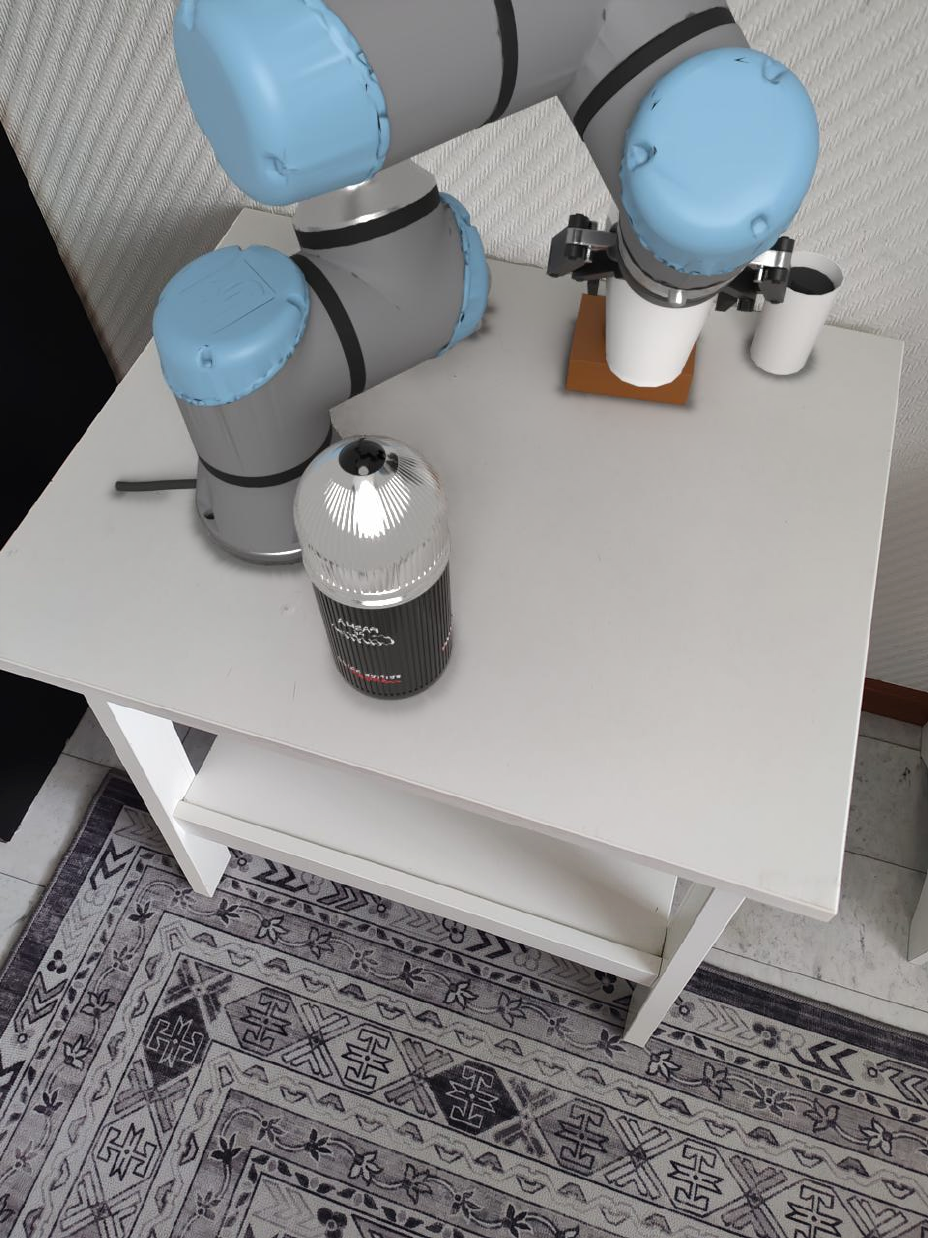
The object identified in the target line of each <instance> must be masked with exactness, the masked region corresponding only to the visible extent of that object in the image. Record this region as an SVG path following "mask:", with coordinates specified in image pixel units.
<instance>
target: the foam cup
mask: <svg viewBox="0 0 928 1238" xmlns="http://www.w3.org/2000/svg"><path fill="white" fill-rule="evenodd" d="M618 216H619V210H618V208H617V206H616V204H615V202H614V200H613V198H611V201H610V205H609V208H608V211H607V215H606V221H605V227H604V228H605V229H604V231H609V230H610V228H611V226H612V225H613V224H614V223H616V222H618ZM605 296H606V354H607V356H606V360H607V362H608V365H609V368H610V370H611V371H612V372H613V373H614V374H615V375H616V376H617V377H618V378H620V379H621V380H622V381H625V382H627V383H630V384H633V385H635V386H638V387H658V386H661V385H664V384H667V383H670V382H672V381H673V380H674V379H675V378H676V377H677V376H678V375H679V374H680V373H681V372H682V369H683V368H684V366H685V364H686V362H687V360H688V357H689V355H690V353H691V351H692V348H693V346H694V344H695V342H696V343H697V341H696V340H697V339H698V338H699V335H700V333H701V330H702V329H703V326H704V324H705V321H706V320H707V317H708V315H709V313H710V311H711V310H712V309H711V308H712V306H713V304H714V302H715V300H716V298H717V295H716V296H714V297H713V298H711V299H709V300H708V301H706V302H703V303H701V304H699V305H696V306H692V307H687V308H666V307H661V306H657V305H655V304H652V303H650V302H648V301H646V300H645V299H643V298H642V297H640V296H639V295H638V294H637V293H635V292H634V291H633V290H632V288H631V287H630V286H629V285H628V283H627V282H626V280H621V279H616V278H615V277H609V278H605Z"/></svg>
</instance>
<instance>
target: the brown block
mask: <svg viewBox="0 0 928 1238" xmlns="http://www.w3.org/2000/svg"><path fill="white" fill-rule="evenodd" d="M572 339H573V340H572V344H571V350H570V354H569V359H568V369H567V377H566V378H567V379H566V386H565V390H566V391H574V392H580V393H587V394H594V395H595V394H596V395H603V396H609V397H618V398H625V399H632V400H639V401H640V400H641V401H648V402H656V403H663V404H672V405H679V406H686V403H687V401H688V400H687V399H688V397H689V393H690V389H691V385H692V382H693V380H694V379H693V378H694V373H695V363H696V362H695V361H696V352H697V351H696V350H697V340H696V342H695V344H694V346H693V348H692V351H691V353H690V355H689V357H688V360H687V362H686V364H685V366H684V368H683V369H682V372H681V373H680V374H679V375H678V376H677V377H676V378H675V379H674V380H673V381H672V382H670V383H667V384H664V385H661V386H658V387H638V386H635V385H633V384H630V383H627V382H625V381H622V380H621V379H620V378H618V377H617V376H616V375H615V374H614V373H613V372H612V371H611V370H610V368H609V365H608V362H607V360H606V356H607V354H606V295H602V294H597V296H593V295H588V293H584V292H582V293H581V298H580V303H579V308H578V312H577V320H576V323H575V327H574V334H573V338H572Z"/></svg>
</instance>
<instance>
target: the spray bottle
mask: <svg viewBox="0 0 928 1238" xmlns="http://www.w3.org/2000/svg"><path fill="white" fill-rule="evenodd" d="M342 439H343V440H340V441H338V442H336V443H334V444H332V445H331V446H329V447H327V448H326V449H325V450H323V451H322V452H321V453H320V454H319V455H317V456H316V457H315V458H314V460H313V461H312V462H311V463H310V464H309V466H308V467H307V468H306V470H305V471H304V473H303V475H302V477H301V479H300V481H299V483H298V486H297V489H296V493H295V496H294V502H293V519H294V525H295V528H296V532H297V535H298V539H299V542H300V546H301V552H302V559H303V561H302V564H303V566H304V569H305V572H306V574H307V576H308V577H309V579H310V582H311V585H312V588H313V593H314V595H315V600H316V603H317V607H318V610H319V613H320V616H321V620H322V624H323V628H324V630H325V634H326V638H327V642H328V645H329V647H330V651H331V655H332V658H333V662H334V666H335V668H336V669H337V671H338V673H339V675H340V677H341V678H342V679H343V680H344V681H345V682H346V684H347V685H348V686H349V687H351V688H352V689H353V690H354V691H355V692H357V693H359V694H362V695H363V696H366V697H368V698H371V699H375V700H379V701H388V702H389V701H402V700H405V699H410V698H413V697H415V696H419V695H420V694H422V693H424V692H426V691H427V690H429V689H430V688H432V687H433V686H434V685H435V684H436V683H437V682H438V681H439V680H440V679H441V678H442V676H443V675H444V674H445V672H446V670H447V669H448V667H449V664H450V662H451V658H452V654H453V647H454V642H453V641H454V640H453V618H452V616H453V615H452V598H451V597H452V596H451V573H450V571H451V570H450V556H451V548H452V537H451V531H450V527H449V515H448V513H449V512H448V497H447V493H446V489H445V485H444V484H443V481H442V479H441V477H440V475H439V474H438V472H437V471H436V469H435V468H434V466H433V465H432V464H431V463H430V461H429V460H428V459H427V458H426V457H425V456H424V455H423V454H422V453H420V452H419V451H418V450H416V449H415V448H414V447H413V446H411V445H409V444H407V443H405V442H404V441H401V440H398V439H396V438H393V437H389V436H385V435H379V434H364V435H363V434H359V435H353V436H349V437H346V438H342Z"/></svg>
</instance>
